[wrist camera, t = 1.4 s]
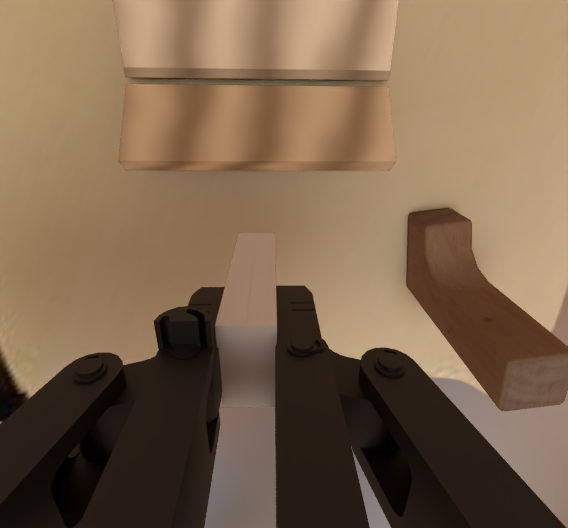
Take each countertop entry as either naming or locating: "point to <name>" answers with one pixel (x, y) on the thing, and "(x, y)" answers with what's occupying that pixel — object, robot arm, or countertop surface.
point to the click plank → (256, 128)
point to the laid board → (257, 39)
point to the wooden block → (482, 316)
